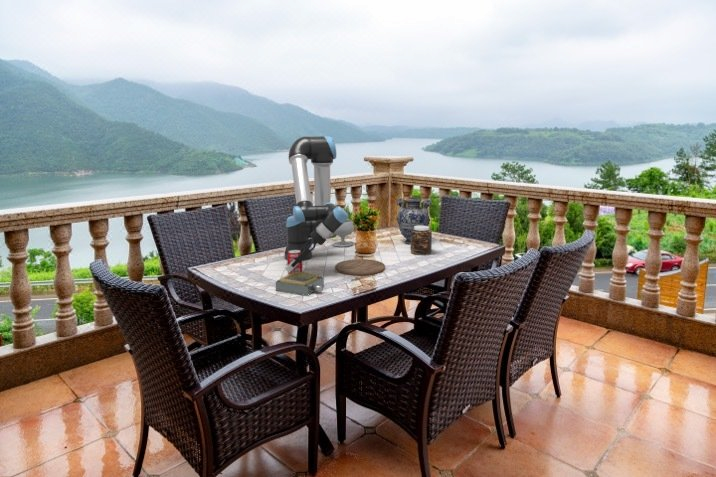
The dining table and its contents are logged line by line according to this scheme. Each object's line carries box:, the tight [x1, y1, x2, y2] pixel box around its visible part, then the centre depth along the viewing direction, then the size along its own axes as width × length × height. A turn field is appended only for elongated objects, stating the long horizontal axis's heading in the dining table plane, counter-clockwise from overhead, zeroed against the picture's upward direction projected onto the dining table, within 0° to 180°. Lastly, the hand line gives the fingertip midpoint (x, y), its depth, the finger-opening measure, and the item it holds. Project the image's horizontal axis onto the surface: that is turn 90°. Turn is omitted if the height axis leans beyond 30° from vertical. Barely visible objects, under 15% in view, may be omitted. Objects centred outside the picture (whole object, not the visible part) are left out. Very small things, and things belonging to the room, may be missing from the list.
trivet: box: [334, 258, 386, 277], centre depth 238 cm, size 25×25×2 cm
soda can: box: [286, 250, 304, 275], centre depth 225 cm, size 7×7×12 cm
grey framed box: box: [275, 271, 325, 296], centre depth 207 cm, size 20×14×5 cm
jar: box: [409, 225, 433, 256], centre depth 267 cm, size 12×12×15 cm
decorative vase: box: [396, 196, 433, 245], centre depth 290 cm, size 21×19×28 cm
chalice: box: [332, 218, 355, 248], centre depth 287 cm, size 14×14×15 cm
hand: (287, 268), depth 226 cm, fingers closed on soda can, 7 cm apart
